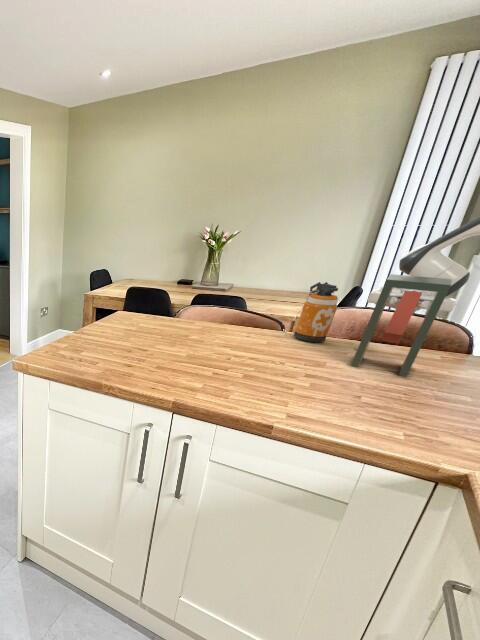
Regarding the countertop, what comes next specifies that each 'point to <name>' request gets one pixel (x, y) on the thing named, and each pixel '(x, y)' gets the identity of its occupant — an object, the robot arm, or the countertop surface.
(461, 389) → the countertop surface
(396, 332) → the red bar
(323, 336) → the canister
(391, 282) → the dark green stand
